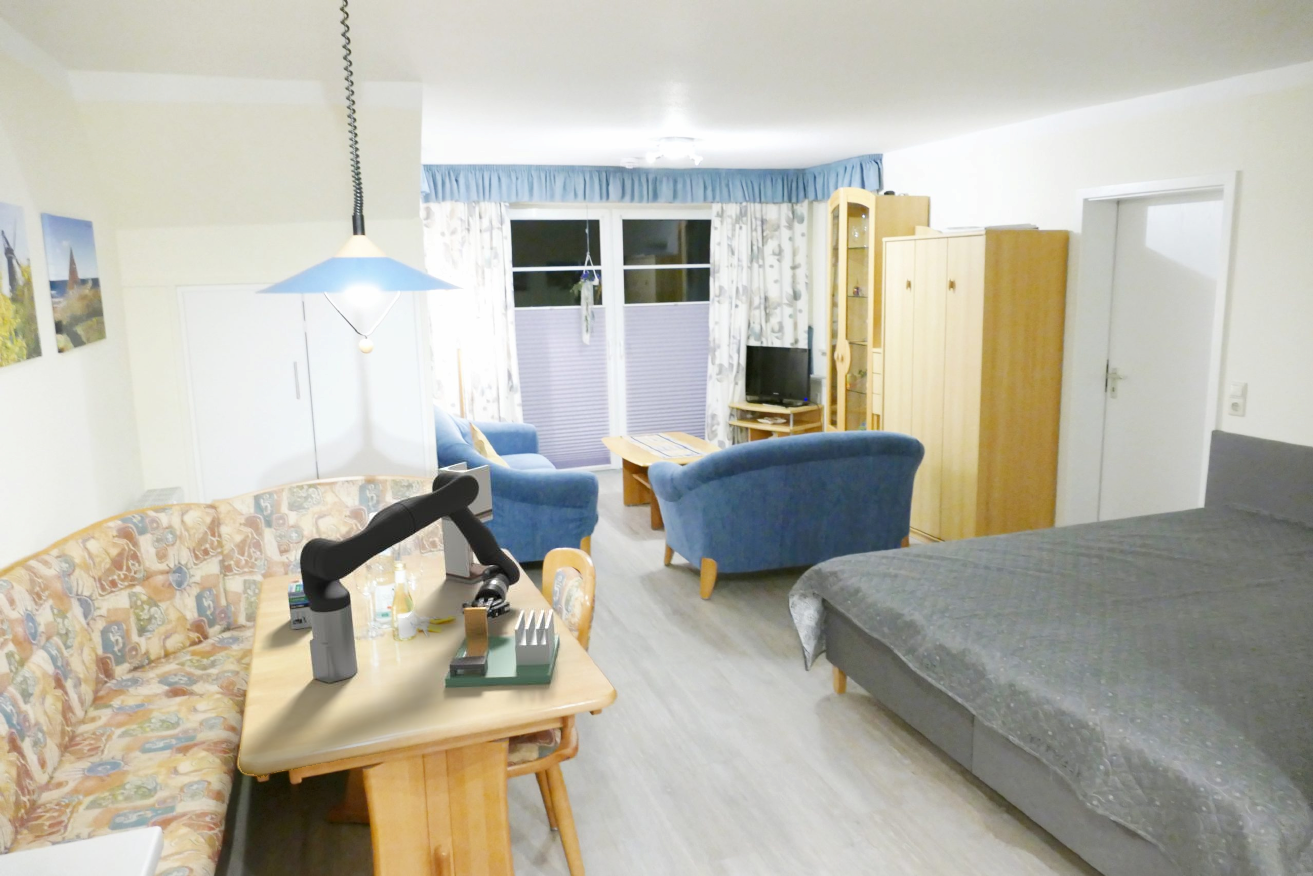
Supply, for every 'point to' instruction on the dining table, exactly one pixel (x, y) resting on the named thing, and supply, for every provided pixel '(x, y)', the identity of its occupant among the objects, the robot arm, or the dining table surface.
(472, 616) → the upright wooden plank
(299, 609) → the light bulb box
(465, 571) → the notched white tower
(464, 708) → the dining table surface
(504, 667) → the heatsink board
